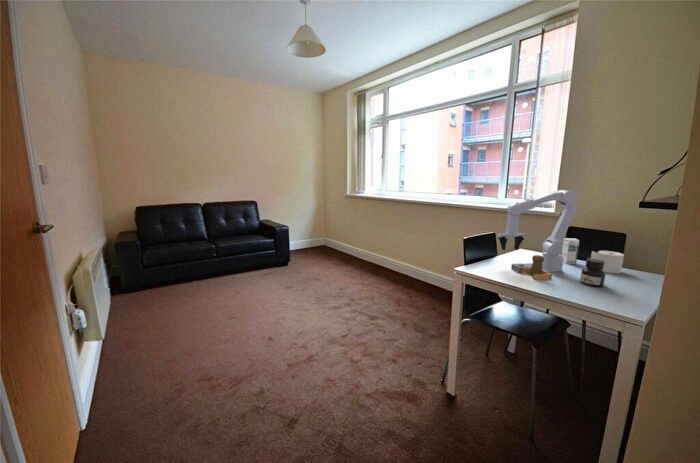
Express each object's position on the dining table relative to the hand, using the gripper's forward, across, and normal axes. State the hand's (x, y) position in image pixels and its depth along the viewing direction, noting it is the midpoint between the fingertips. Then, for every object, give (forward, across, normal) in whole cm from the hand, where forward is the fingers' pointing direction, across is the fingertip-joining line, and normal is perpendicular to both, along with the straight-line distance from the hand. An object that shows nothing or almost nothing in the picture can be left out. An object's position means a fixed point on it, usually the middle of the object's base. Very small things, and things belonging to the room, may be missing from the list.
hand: (509, 249), depth 167 cm
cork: (+11, +6, -15) cm, 19 cm away
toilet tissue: (+11, +51, -10) cm, 53 cm away
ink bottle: (+11, +25, -28) cm, 39 cm away
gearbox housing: (+10, +6, -12) cm, 17 cm away
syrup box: (+11, +42, +6) cm, 44 cm away
